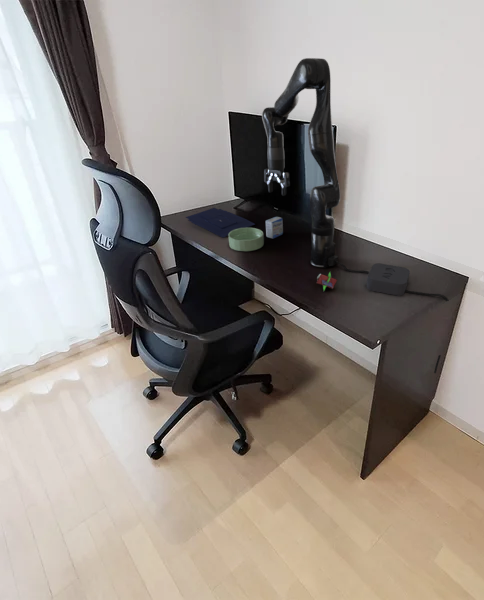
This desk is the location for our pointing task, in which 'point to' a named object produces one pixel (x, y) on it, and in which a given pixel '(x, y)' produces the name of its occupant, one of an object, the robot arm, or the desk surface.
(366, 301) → the desk surface
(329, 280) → the geometric puzzle
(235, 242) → the bowl
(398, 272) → the streaming box
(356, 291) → the desk surface
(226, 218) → the folded navy cloth
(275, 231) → the medicine box
